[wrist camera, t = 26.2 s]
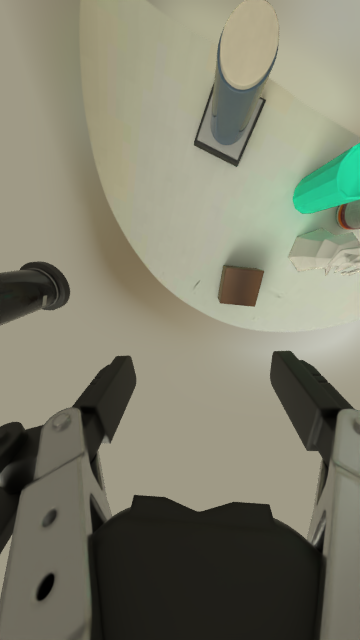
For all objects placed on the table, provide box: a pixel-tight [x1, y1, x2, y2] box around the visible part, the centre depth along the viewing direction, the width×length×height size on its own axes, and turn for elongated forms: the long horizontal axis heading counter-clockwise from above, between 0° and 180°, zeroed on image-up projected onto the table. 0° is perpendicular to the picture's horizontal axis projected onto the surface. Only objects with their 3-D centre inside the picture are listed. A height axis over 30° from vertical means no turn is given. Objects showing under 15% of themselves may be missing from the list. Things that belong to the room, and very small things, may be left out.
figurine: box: [288, 228, 360, 276], centre depth 25 cm, size 7×8×18 cm
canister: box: [210, 0, 279, 145], centre depth 21 cm, size 6×6×11 cm
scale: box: [194, 84, 266, 166], centre depth 27 cm, size 8×8×1 cm
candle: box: [293, 143, 360, 213], centre depth 25 cm, size 6×6×12 cm
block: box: [218, 265, 264, 306], centre depth 35 cm, size 7×7×4 cm
